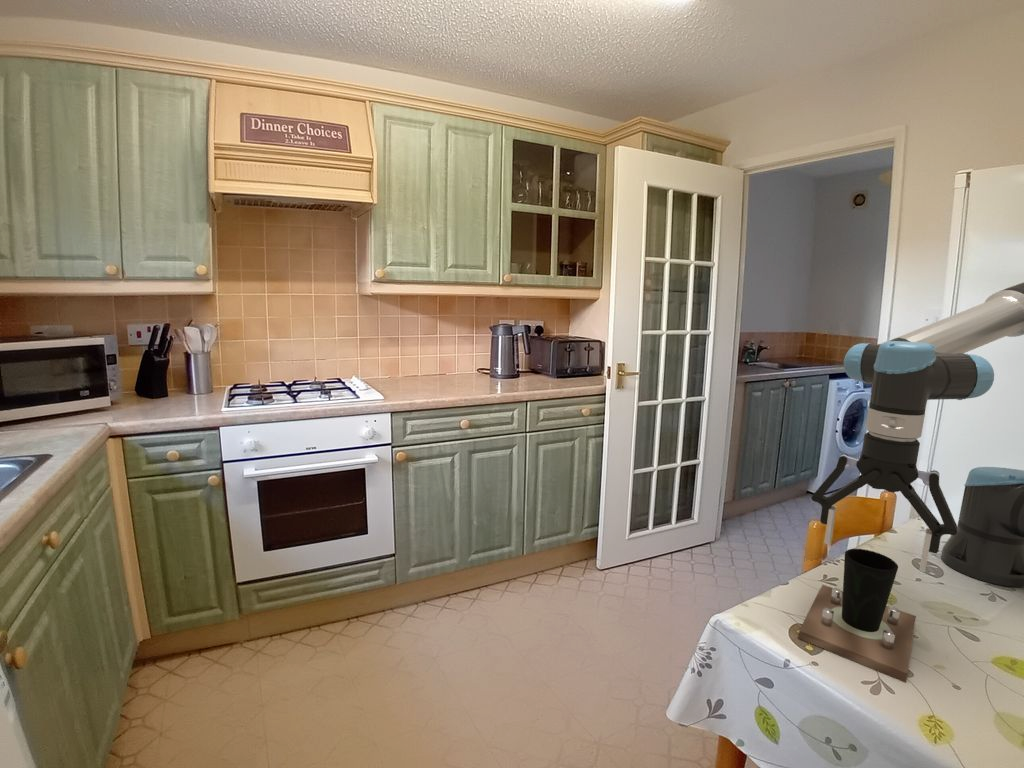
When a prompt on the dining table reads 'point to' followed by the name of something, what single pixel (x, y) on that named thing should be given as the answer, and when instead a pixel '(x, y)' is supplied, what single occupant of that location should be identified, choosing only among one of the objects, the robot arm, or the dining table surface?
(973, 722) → the dining table surface
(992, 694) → the dining table surface
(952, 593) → the dining table surface
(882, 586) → the cup
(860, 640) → the stub board
